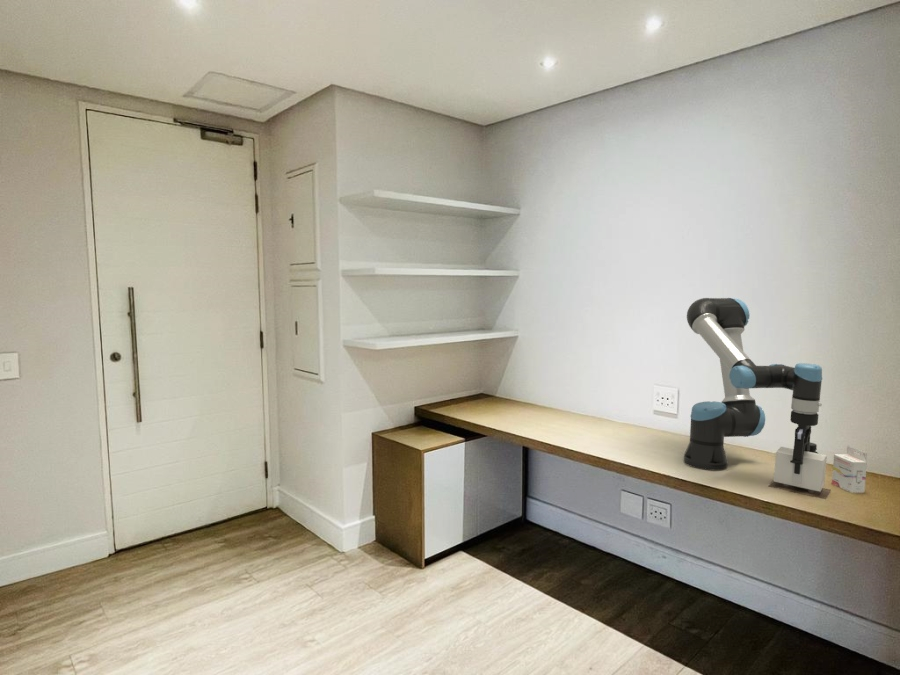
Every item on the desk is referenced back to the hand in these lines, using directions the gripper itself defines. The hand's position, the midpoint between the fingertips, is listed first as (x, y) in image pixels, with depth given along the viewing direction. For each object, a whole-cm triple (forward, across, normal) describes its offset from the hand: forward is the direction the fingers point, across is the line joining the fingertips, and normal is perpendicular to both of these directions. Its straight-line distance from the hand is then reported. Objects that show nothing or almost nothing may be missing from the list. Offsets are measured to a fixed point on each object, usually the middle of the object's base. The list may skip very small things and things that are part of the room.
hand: (799, 479), depth 181 cm
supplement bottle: (+5, +20, +1) cm, 21 cm away
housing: (+1, 0, 0) cm, 1 cm away
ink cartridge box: (+5, +11, -12) cm, 17 cm away
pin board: (+4, 0, 0) cm, 4 cm away
